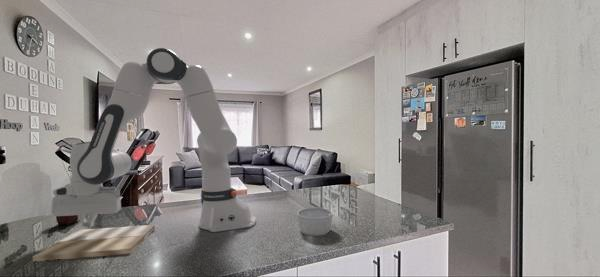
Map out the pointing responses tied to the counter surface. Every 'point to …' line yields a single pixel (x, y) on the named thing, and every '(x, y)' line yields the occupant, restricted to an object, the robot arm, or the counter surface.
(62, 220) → the mate gourd
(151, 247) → the counter surface
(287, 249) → the counter surface
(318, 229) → the ramekin
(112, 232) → the whitewashed plank
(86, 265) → the counter surface
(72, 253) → the laid oak row
